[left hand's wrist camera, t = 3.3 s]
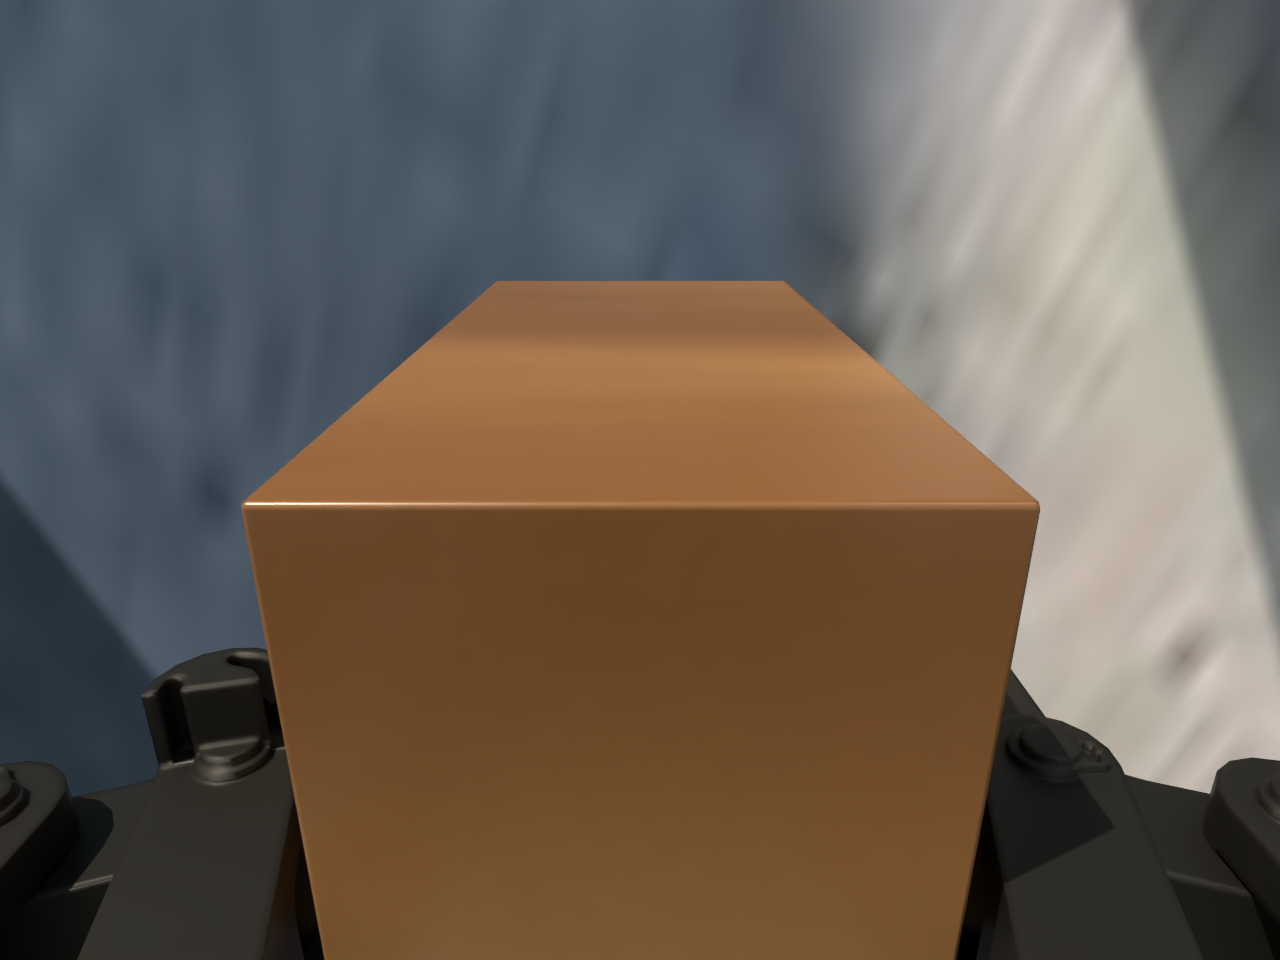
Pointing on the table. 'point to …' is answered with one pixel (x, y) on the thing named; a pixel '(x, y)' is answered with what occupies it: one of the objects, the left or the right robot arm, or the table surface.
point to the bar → (640, 638)
